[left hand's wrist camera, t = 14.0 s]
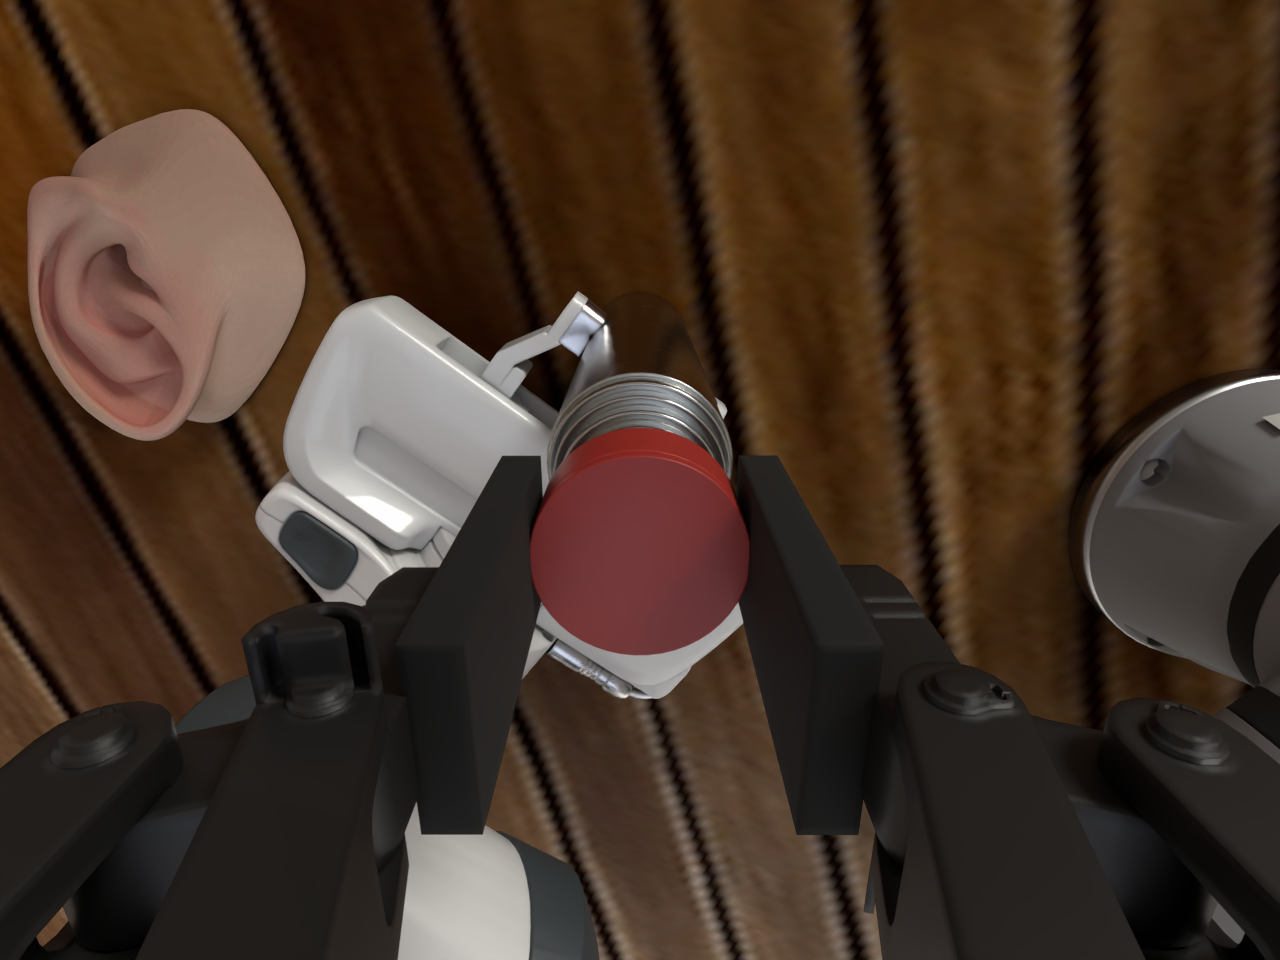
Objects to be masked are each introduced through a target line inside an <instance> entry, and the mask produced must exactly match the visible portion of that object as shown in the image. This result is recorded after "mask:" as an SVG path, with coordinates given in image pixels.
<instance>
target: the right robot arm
mask: <svg viewBox="0 0 1280 960" xmlns="http://www.w3.org/2000/svg"><path fill="white" fill-rule="evenodd" d="M607 315H608V314H607V313H605V312H604V311H603V310H602V309H600V308H599V307H598V306H597V305H595V304H594V303H593V302H592V301H590V300H589V299H588V298H587V297H585V296H584V295H583V294H581V293H580V292H579V291H578V292H577V293H576V294H575V296H574V297H573V298H572V300H571V301H570V302H569V304H568V305H567V306H566V308H565V309H564V311H563V312H562V313H561V315H560V316H559V318H558V319H557V320H556V322H555V323H554V325H553V326H551V325H548V326H546V327H543V328H541V329H539V330H536V331H534V332H532V333H529V334H527V335H525V336H522V337H520V338H518V339H515V340H513V341H510V342H508V343H506V344H505V345H504V346H503V347H502V348H501V349H500V350H499V351H498V352H497V353H496V355H495V356H494V358H493V359H492V360H491V362H489V361H487V360H486V359H485V358H483V357H482V356H480V355H479V354H478V353H476V352H475V351H474V350H472V349H471V348H469V347H468V346H467V345H465V344H464V343H462V342H461V341H460V340H458V339H457V338H456V337H454V336H453V335H451V334H450V333H449V332H447V331H446V330H444V329H443V328H442V327H440V326H439V325H438V324H436V323H435V322H433V321H432V320H431V319H429V318H428V317H426V316H425V315H424V314H422V313H421V312H419V311H418V310H417V309H415V308H414V307H413V306H411V305H410V304H409V303H407V302H406V301H404V300H403V299H401V298H399V297H397V296H384V297H377V298H372V299H367V300H363V301H360V302H357V303H355V304H353V305H351V306H349V307H348V308H346V309H345V310H343V311H342V312H341V313H340V314H339V315H338V317H337V318H336V319H335V320H334V322H333V324H332V325H331V327H330V328H329V330H328V332H327V333H326V335H325V337H324V339H323V341H322V342H321V344H320V346H319V348H318V350H317V352H316V354H315V356H314V358H313V360H312V362H311V364H310V366H309V368H308V370H307V372H306V374H305V376H304V379H303V381H302V383H301V385H300V388H299V390H298V392H297V395H296V397H295V400H294V402H293V405H292V408H291V410H290V413H289V416H288V419H287V422H286V425H285V430H284V436H283V451H284V457H285V461H286V464H287V466H288V468H289V470H290V471H288V472H287V473H286V474H285V475H284V476H283V477H282V478H281V479H280V480H279V481H278V482H277V483H276V484H275V486H274V487H273V488H272V489H271V490H270V492H269V493H268V494H267V495H266V496H265V498H264V499H263V500H262V502H261V503H260V505H259V507H258V509H257V511H256V515H255V519H256V523H257V526H258V528H259V529H260V531H261V532H262V534H263V535H264V536H265V537H266V538H267V539H268V541H269V542H270V543H271V544H272V545H273V546H274V547H275V548H276V549H277V550H278V551H279V552H280V553H281V554H282V555H283V556H284V557H285V558H286V559H287V560H288V561H289V562H290V563H291V565H292V566H293V567H294V568H295V569H296V570H297V571H298V572H299V573H300V574H301V575H302V576H303V577H304V579H305V580H306V581H307V582H308V583H309V584H310V585H311V586H312V588H313V589H314V590H315V591H316V592H317V593H318V595H319V596H320V597H321V598H322V599H323V601H324V602H347V603H351V604H355V605H359V606H363V605H366V600H367V599H368V598H369V596H370V595H371V593H372V592H373V591H374V589H375V588H376V586H377V585H378V583H380V582H381V581H383V580H384V579H386V578H387V577H389V576H390V575H392V574H393V573H395V572H396V571H398V570H400V569H401V568H403V567H439V566H440V565H441V563H442V561H443V559H444V558H445V556H446V554H447V552H448V550H449V549H450V547H451V545H452V543H453V542H454V540H455V538H456V536H457V535H458V533H459V531H460V529H461V528H462V526H463V524H464V522H465V520H466V519H467V517H468V515H469V513H470V512H471V510H472V508H473V506H474V505H475V503H476V501H477V499H478V497H479V496H480V494H481V492H482V490H483V489H484V487H485V485H486V483H487V482H488V480H489V478H490V476H491V474H492V473H493V471H494V469H495V467H496V466H497V464H498V462H499V460H500V459H501V457H502V456H541V470H542V489H543V496H544V493H545V491H546V488H547V485H548V483H549V478H548V471H547V448H548V443H549V438H550V435H551V432H552V429H553V427H554V424H555V422H556V419H557V417H558V414H559V412H558V411H556V410H555V409H554V408H552V407H551V406H550V405H548V404H547V403H545V402H544V401H543V400H541V399H540V398H538V397H537V396H536V395H534V394H533V393H532V392H530V391H529V390H527V389H526V388H525V387H523V386H522V385H520V384H521V382H522V381H523V380H524V378H525V377H526V375H527V374H528V372H529V371H530V369H531V368H532V366H533V365H532V362H531V361H529V360H528V359H529V358H531V357H534V356H536V355H538V354H540V353H543V352H545V351H547V350H549V349H552V348H554V347H556V346H559V345H561V344H562V345H563V346H565V347H566V348H568V349H569V350H570V351H572V352H573V353H575V354H576V355H577V356H579V355H580V354H581V353H582V351H583V350H584V349H585V347H586V346H587V344H588V342H589V340H590V337H591V335H592V334H595V333H596V332H597V331H598V330H599V328H600V327H601V326H602V324H603V323H604V321H605V320H606V318H607ZM714 398H715V401H716V403H717V406H718V408H719V411H720V413H721V415H722V418H723V419H724V417H725V415H726V413H727V409H726V407H725V405H724V403H722V402H721V401H720V400H718V399H717V398H716V397H715V396H714ZM742 624H743V619H742V615H741V611H740V607H739V603H737V605H736V606H735V608H734V609H733V611H732V612H731V613H730V615H729V616H728V617H727V618H726V619H725V620H724V621H723V622H722V623H721V624H720V625H719V626H718V627H717V628H716V629H714V630H713V631H712V632H711V633H709V634H708V635H706V636H705V637H703V638H702V639H700V640H698V641H696V642H694V643H692V644H690V645H688V646H686V647H683V648H680V649H678V650H675V651H671V652H666V653H662V654H655V655H625V654H618V653H613V652H609V651H605V650H602V649H599V648H596V647H594V646H592V645H589V644H587V643H585V642H583V641H581V640H580V639H578V638H576V637H575V636H573V635H572V634H570V633H569V632H568V631H567V630H565V629H564V628H563V627H562V626H560V625H559V624H558V622H557V621H556V620H555V619H554V618H553V617H552V616H551V615H550V614H549V612H548V611H547V609H546V608H545V607H544V605H543V604H542V602H541V605H540V609H539V613H538V617H537V621H536V625H535V629H534V633H533V637H532V641H531V645H530V649H529V653H528V657H527V661H526V665H525V669H524V673H523V677H522V679H523V678H524V677H525V676H526V674H527V673H528V672H529V671H530V670H531V668H532V667H533V666H534V665H535V664H536V663H537V662H538V660H539V659H540V658H541V657H542V656H543V654H545V653H546V654H547V655H549V656H550V657H552V658H553V659H555V660H557V661H558V662H560V663H561V664H563V665H564V666H566V667H568V668H569V669H571V670H573V671H575V672H577V673H579V674H581V675H583V676H585V677H588V678H589V679H591V680H593V681H594V682H596V683H597V684H599V686H600V687H601V688H602V689H603V690H604V691H606V692H607V693H609V694H611V695H612V696H615V697H617V698H620V699H626V698H627V697H628V696H631V697H634V698H639V699H651V698H654V699H659V698H662V697H664V696H665V695H667V694H668V693H669V692H671V690H672V689H673V688H674V687H675V686H676V685H677V684H678V683H679V682H680V681H681V680H682V679H683V678H684V677H685V676H686V675H687V673H688V672H689V670H690V669H691V667H692V665H693V664H695V663H696V662H697V661H699V660H700V659H701V658H703V657H704V656H705V655H707V654H708V653H709V652H711V651H712V650H713V649H714V648H715V647H717V646H718V645H719V644H720V643H721V642H723V641H724V640H725V639H726V638H727V637H728V636H730V635H731V634H732V633H733V632H734V631H735V630H736V629H737V628H739V627H740V626H741V625H742ZM633 686H635V687H636V688H638V689H635V688H633ZM639 689H640V690H639ZM255 706H256V701H255V697H254V693H253V688H252V684H251V679H250V675H247V676H244V677H241V678H239V679H236V680H233V681H230V682H228V683H225V684H223V685H222V686H220V687H218V688H217V689H216V690H214V691H213V692H211V693H210V694H209V695H207V696H206V697H205V698H203V699H202V700H201V701H200V702H199V703H198V704H196V705H195V706H194V707H193V708H192V709H191V710H190V711H189V712H188V713H187V714H186V715H185V716H184V717H183V718H182V719H181V720H180V721H179V722H178V723H177V725H176V726H175V729H176V732H177V734H181V733H185V732H190V731H195V730H200V729H205V728H210V727H215V726H220V725H225V724H230V723H234V722H237V721H241V720H245V719H248V718H250V716H251V714H252V712H253V710H254V708H255ZM405 838H406V845H407V852H408V860H409V871H408V879H407V887H406V895H405V904H404V912H403V920H402V928H401V937H400V945H399V953H398V960H599V952H598V945H597V939H596V934H595V929H594V925H593V921H592V917H591V914H590V910H589V907H588V903H587V900H586V897H585V894H584V891H583V888H582V886H581V883H580V880H579V878H578V876H577V874H576V872H575V871H574V869H573V868H572V867H571V866H570V865H569V864H567V863H565V862H563V861H561V860H559V859H557V858H555V857H553V856H551V855H548V854H546V853H544V852H542V851H540V850H538V849H536V848H534V847H532V846H530V845H528V844H526V843H524V842H522V841H520V840H518V839H516V838H514V837H512V836H510V835H508V834H506V833H503V832H501V831H494V830H492V829H491V828H489V827H487V826H486V825H485V828H484V832H483V835H421V829H420V822H419V815H418V808H417V802H416V804H415V807H414V809H413V812H412V815H411V817H410V820H409V823H408V825H407V828H406V831H405Z"/></svg>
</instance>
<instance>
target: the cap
mask: <svg viewBox="0 0 1280 960" xmlns="http://www.w3.org/2000/svg"><path fill="white" fill-rule="evenodd" d="M749 547H750V538H749V534H748V530H747V526H746V523H745V520H744V517H743V514H742V511H741V508H740V506H739V503H738V500H737V497H736V494H735V491H734V489H733V486H732V484H731V481H730V480H729V478H728V476H727V475H726V473H725V471H724V470H723V468H722V467H721V466H720V465H719V463H718V462H717V461H716V460H715V459H714V458H713V457H712V456H711V455H710V454H709V453H708V452H707V451H706V450H704V449H703V448H701V447H700V446H699V445H697V444H696V443H694V442H692V441H690V440H688V439H687V438H685V437H682V436H680V435H677V434H675V433H672V432H668V431H664V430H660V429H652V428H628V429H620V430H616V431H612V432H608V433H605V434H602V435H600V436H598V437H595V438H593V439H591V440H589V441H588V442H586V443H584V444H582V445H581V446H579V447H578V448H577V449H576V450H574V451H573V452H572V453H571V454H570V455H569V456H568V457H567V458H566V459H565V460H564V461H563V462H562V463H561V464H560V465H559V467H558V468H557V469H556V471H555V472H554V474H553V476H552V477H551V479H550V481H549V483H548V485H547V488H546V491H545V493H544V496H543V499H542V502H541V505H540V508H539V511H538V514H537V517H536V520H535V523H534V526H533V529H532V533H531V537H530V557H531V573H532V582H533V584H534V587H535V590H536V592H537V594H538V596H539V598H540V600H541V602H542V604H543V605H544V607H545V608H546V609H547V611H548V612H549V614H550V615H551V616H552V617H553V618H554V619H555V620H556V621H557V622H558V624H559V625H560V626H562V627H563V628H564V629H565V630H567V631H568V632H569V633H570V634H572V635H573V636H575V637H576V638H578V639H580V640H581V641H583V642H585V643H587V644H589V645H592V646H594V647H596V648H599V649H602V650H605V651H609V652H613V653H618V654H625V655H655V654H662V653H666V652H671V651H675V650H678V649H680V648H683V647H686V646H688V645H690V644H692V643H694V642H696V641H698V640H700V639H702V638H703V637H705V636H706V635H708V634H709V633H711V632H712V631H713V630H714V629H716V628H717V627H718V626H719V625H720V624H721V623H722V622H723V621H724V620H725V619H726V618H727V617H728V616H729V615H730V613H731V612H732V611H733V609H734V608H735V606H736V605H737V603H738V602H739V600H740V598H741V596H742V594H743V592H744V589H745V586H746V584H747V580H748V564H749Z"/></svg>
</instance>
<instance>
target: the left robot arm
mask: <svg viewBox="0 0 1280 960" xmlns="http://www.w3.org/2000/svg"><path fill="white" fill-rule="evenodd" d="M542 499H543V489H542V470H541V456H502V457H501V459H500V460H499V462H498V464H497V466H496V467H495V469H494V471H493V473H492V474H491V476H490V478H489V480H488V482H487V483H486V485H485V487H484V489H483V490H482V492H481V494H480V496H479V497H478V499H477V501H476V503H475V505H474V506H473V508H472V510H471V512H470V513H469V515H468V517H467V519H466V520H465V522H464V524H463V526H462V528H461V529H460V531H459V533H458V535H457V536H456V538H455V540H454V542H453V543H452V545H451V547H450V549H449V550H448V552H447V554H446V556H445V558H444V559H443V561H442V563H441V565H440V566H439V567H403V568H401V569H400V570H398V571H396V572H395V573H393V574H392V575H390V576H389V577H387V578H386V579H384V580H383V581H381V582H380V583H378V585H377V586H376V588H375V589H374V591H373V592H372V593H371V595H370V596H369V598H368V599H367V600H366V605H363V606H359V605H355V604H351V603H347V602H317V603H311V604H306V605H300V606H296V607H293V608H290V609H287V610H285V611H282V612H279V613H276V614H273V615H272V616H270V617H268V618H267V619H265V620H263V621H261V622H260V623H258V624H256V625H255V626H253V627H252V628H251V630H250V631H249V632H248V633H247V634H246V635H245V636H244V637H243V638H242V639H241V640H242V644H243V649H244V653H245V657H246V662H247V666H248V671H249V675H250V679H251V684H252V688H253V693H254V697H255V701H256V706H255V708H254V710H253V712H252V714H251V716H250V718H248V719H245V720H241V721H237V722H234V723H230V724H225V725H220V726H215V727H210V728H205V729H200V730H195V731H190V732H185V733H181V734H177V732H176V729H175V725H174V722H173V718H172V714H171V713H170V712H169V711H167V710H166V709H165V708H164V707H163V706H162V705H159V704H154V703H148V702H143V701H139V702H128V703H117V704H111V705H106V706H103V707H102V708H99V707H98V708H95V709H92V710H89V711H86V712H84V713H82V714H80V715H78V716H76V717H74V718H72V719H70V720H67V721H65V722H63V723H61V724H58V725H57V726H55V727H54V728H52V729H51V730H49V731H48V732H46V733H45V734H43V735H42V736H40V737H39V738H37V739H36V740H34V741H33V742H32V743H31V744H29V745H28V746H27V747H26V748H25V749H23V750H22V751H21V752H20V753H19V754H17V755H16V756H15V757H14V758H12V759H11V760H10V761H9V762H8V763H6V764H5V765H4V766H3V767H2V768H0V960H398V953H399V945H400V937H401V928H402V920H403V912H404V904H405V895H406V887H407V879H408V871H409V860H408V852H407V845H406V838H405V831H406V828H407V825H408V823H409V820H410V817H411V815H412V812H413V809H414V807H415V804H416V802H417V808H418V815H419V822H420V829H421V835H483V832H484V828H485V824H486V820H487V816H488V812H489V808H490V804H491V800H492V796H493V792H494V788H495V784H496V780H497V776H498V772H499V768H500V764H501V760H502V756H503V752H504V748H505V744H506V740H507V736H508V732H509V728H510V724H511V720H512V717H513V713H514V709H515V705H516V701H517V697H518V693H519V689H520V685H521V681H522V677H523V673H524V669H525V665H526V661H527V657H528V653H529V649H530V645H531V641H532V637H533V633H534V629H535V625H536V621H537V617H538V613H539V609H540V605H541V600H540V598H539V596H538V594H537V592H536V590H535V587H534V584H533V582H532V573H531V557H530V537H531V533H532V529H533V526H534V523H535V520H536V517H537V514H538V511H539V508H540V505H541V502H542ZM737 500H738V503H739V506H740V508H741V511H742V514H743V517H744V520H745V523H746V526H747V530H748V534H749V538H750V547H749V564H748V580H747V584H746V586H745V589H744V592H743V594H742V596H741V598H740V600H739V602H738V603H739V607H740V611H741V615H742V619H743V623H744V627H745V631H746V635H747V639H748V643H749V647H750V651H751V655H752V659H753V663H754V667H755V671H756V675H757V679H758V683H759V687H760V691H761V695H762V699H763V703H764V707H765V710H766V714H767V718H768V722H769V726H770V730H771V734H772V738H773V742H774V746H775V750H776V754H777V758H778V762H779V766H780V770H781V774H782V778H783V782H784V786H785V790H786V794H787V798H788V802H789V806H790V810H791V814H792V818H793V822H794V826H795V830H796V834H797V835H858V833H859V826H860V819H861V812H862V804H863V799H864V802H865V804H866V807H867V810H868V812H869V815H870V818H871V820H872V823H873V825H874V828H875V831H876V832H875V838H874V845H873V852H872V858H871V865H870V871H869V878H868V885H867V891H866V898H865V906H864V912H867V913H874V907H875V902H876V910H877V919H878V927H879V935H880V943H881V951H882V960H1280V370H1276V369H1248V370H1240V371H1232V372H1228V373H1223V374H1219V375H1215V376H1212V377H1208V378H1205V379H1202V380H1199V381H1197V382H1194V383H1192V384H1189V385H1187V386H1184V387H1182V388H1180V389H1178V390H1176V391H1174V392H1172V393H1170V394H1169V395H1167V396H1165V397H1164V398H1162V399H1160V400H1159V401H1157V402H1155V403H1154V404H1152V405H1151V406H1150V407H1148V408H1147V409H1145V410H1144V411H1142V412H1141V413H1140V414H1139V415H1137V416H1136V417H1135V418H1134V419H1133V420H1131V421H1130V422H1129V423H1128V424H1127V425H1126V426H1125V427H1124V428H1123V429H1122V430H1121V431H1120V432H1119V433H1118V434H1117V435H1116V436H1115V437H1114V438H1113V439H1112V440H1111V441H1110V442H1109V444H1108V445H1107V446H1106V447H1105V448H1104V450H1103V451H1102V452H1101V454H1100V455H1099V456H1098V458H1097V459H1096V461H1095V462H1094V464H1093V465H1092V467H1091V469H1090V470H1089V472H1088V474H1087V476H1086V478H1085V480H1084V482H1083V483H1082V485H1081V488H1080V490H1079V493H1078V495H1077V498H1076V501H1075V504H1074V508H1073V511H1072V516H1071V521H1070V528H1069V553H1070V560H1071V564H1072V568H1073V572H1074V575H1075V577H1076V579H1077V582H1078V584H1079V586H1080V588H1081V589H1082V591H1083V593H1084V594H1085V596H1086V597H1087V598H1088V600H1089V601H1090V602H1091V604H1092V605H1093V606H1094V607H1095V608H1096V609H1097V610H1098V611H1099V612H1101V613H1102V614H1103V615H1104V616H1105V617H1106V618H1107V619H1109V620H1110V621H1111V622H1112V623H1113V624H1114V625H1116V626H1117V627H1118V628H1119V629H1120V630H1122V631H1123V632H1124V633H1125V634H1127V635H1128V636H1129V637H1131V638H1133V639H1134V640H1136V641H1137V642H1139V643H1142V644H1144V645H1146V646H1148V647H1150V648H1153V649H1156V650H1159V651H1162V652H1164V653H1167V654H1170V655H1173V656H1177V657H1180V658H1186V659H1190V660H1192V661H1193V662H1195V663H1197V664H1199V665H1201V666H1203V667H1206V668H1208V669H1211V670H1213V671H1216V672H1218V673H1221V674H1223V675H1226V676H1229V677H1232V678H1234V679H1237V680H1240V681H1242V682H1245V683H1248V684H1250V685H1251V686H1253V687H1254V688H1253V689H1252V690H1250V691H1249V692H1248V693H1246V694H1245V695H1243V696H1242V697H1241V698H1239V699H1238V700H1236V701H1235V702H1234V703H1232V704H1231V705H1229V706H1228V707H1226V708H1224V709H1222V710H1221V711H1219V712H1218V713H1217V714H1215V715H1214V716H1210V715H1208V714H1205V713H1203V712H1201V711H1199V710H1198V709H1196V708H1193V707H1190V706H1187V705H1184V704H1181V705H1180V704H1178V703H1176V702H1171V701H1166V700H1156V699H1145V698H1135V699H1130V700H1125V701H1119V702H1118V703H1117V704H1116V705H1115V706H1114V707H1112V708H1111V709H1110V710H1109V712H1108V716H1107V719H1106V723H1105V726H1104V730H1103V731H1101V730H1096V729H1091V728H1086V727H1081V726H1076V725H1071V724H1066V723H1061V722H1056V721H1051V720H1047V719H1043V718H1040V717H1036V716H1032V715H1029V713H1028V711H1027V709H1026V706H1025V704H1024V703H1023V701H1022V700H1021V699H1020V698H1019V696H1018V695H1017V694H1016V692H1015V691H1014V690H1013V689H1012V688H1011V687H1009V686H1008V685H1007V684H1005V683H1004V682H1002V681H1001V680H999V679H998V678H996V677H995V676H993V675H991V674H988V673H986V672H984V671H981V670H979V669H976V668H974V667H972V666H967V665H962V664H960V663H959V662H958V660H957V659H956V657H955V656H954V654H953V653H952V652H951V650H950V649H949V647H948V646H947V645H946V643H945V642H944V640H943V639H942V638H941V636H940V635H939V633H938V632H937V631H936V629H935V628H934V626H933V625H932V624H931V622H930V621H929V619H928V618H925V614H924V612H923V611H922V609H921V608H920V607H919V605H918V604H917V603H914V598H913V597H912V595H911V594H910V593H909V591H908V590H907V588H906V587H905V585H904V584H903V583H902V581H901V580H899V579H898V578H896V577H895V576H893V575H892V574H890V573H888V572H887V571H885V570H884V569H882V568H881V567H879V566H878V565H839V564H838V562H837V560H836V558H835V557H834V555H833V553H832V551H831V550H830V548H829V546H828V544H827V543H826V541H825V539H824V537H823V535H822V534H821V532H820V530H819V528H818V527H817V525H816V523H815V521H814V520H813V518H812V516H811V514H810V513H809V511H808V509H807V507H806V505H805V504H804V502H803V500H802V498H801V497H800V495H799V493H798V491H797V490H796V488H795V486H794V484H793V482H792V481H791V479H790V477H789V475H788V474H787V472H786V470H785V468H784V467H783V465H782V463H781V461H780V459H779V458H778V456H739V460H738V480H737ZM62 907H63V908H64V910H65V913H66V915H67V918H68V920H69V921H68V922H67V923H66V925H65V926H64V927H63V928H62V929H61V930H60V932H59V933H58V934H57V935H56V936H55V937H54V938H52V939H51V940H50V941H49V942H48V943H47V944H45V945H44V946H43V947H42V946H41V945H40V944H39V943H38V940H37V938H36V936H37V935H38V934H39V933H40V932H41V930H42V929H43V928H44V927H45V926H46V925H47V924H48V922H49V921H50V920H51V919H52V918H53V917H54V916H55V915H56V913H57V912H58V911H59V910H60V909H61V908H62Z"/></svg>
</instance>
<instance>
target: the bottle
mask: <svg viewBox="0 0 1280 960" xmlns="http://www.w3.org/2000/svg"><path fill="white" fill-rule="evenodd" d="M603 311H604V312H605V313H607V314H608V315H607V318H606V320H605V321H604V323H603V324H602V326H601V327H600V328H599V330H598V331H597V332H596V333H595V334H592V335H591V337H590V340H589V342H588V344H587V346H586V347H585V350H584V352H583V355H582V357H581V360H580V362H579V365H578V367H577V370H576V372H575V375H574V377H573V379H572V382H571V384H570V387H569V389H568V392H567V394H566V397H565V399H564V402H563V404H562V407H561V409H560V412H559V414H558V417H557V419H556V422H555V424H554V427H553V429H552V432H551V435H550V438H549V443H548V448H547V471H548V478H549V481H550V479H551V477H552V476H553V474H554V472H555V471H556V469H557V468H558V467H559V465H560V464H561V463H562V462H563V461H564V460H565V459H566V458H567V457H568V456H569V455H570V454H571V453H572V452H573V451H574V450H576V449H577V448H578V447H579V446H581V445H582V444H584V443H586V442H588V441H589V440H591V439H593V438H595V437H598V436H600V435H602V434H605V433H608V432H612V431H616V430H620V429H628V428H652V429H660V430H664V431H668V432H672V433H675V434H677V435H680V436H682V437H685V438H687V439H688V440H690V441H692V442H694V443H696V444H697V445H699V446H700V447H701V448H703V449H704V450H706V451H707V452H708V453H709V454H710V455H711V456H712V457H713V458H714V459H715V460H716V461H717V462H718V463H719V465H720V466H721V467H722V468H723V470H724V471H725V473H726V475H727V476H728V478H729V480H730V481H731V475H732V468H733V452H732V445H731V440H730V437H729V433H728V430H727V428H726V425H725V423H724V420H723V418H722V415H721V413H720V411H719V408H718V406H717V403H716V401H715V398H714V396H713V393H712V391H711V388H710V386H709V383H708V381H707V378H706V376H705V373H704V371H703V369H702V366H701V364H700V361H699V359H698V356H697V354H696V351H695V349H694V346H693V344H692V341H691V339H690V336H689V334H688V332H687V329H686V327H685V324H684V322H683V319H682V317H681V316H680V314H679V312H678V311H677V310H676V309H675V307H674V306H672V305H671V304H670V303H669V302H668V301H666V300H665V299H663V298H661V297H660V296H657V295H654V294H651V293H645V292H634V293H628V294H625V295H622V296H620V297H618V298H616V299H614V300H613V301H611V302H610V303H609V304H608V305H607V306H606V307H605V308H604V309H603Z"/></svg>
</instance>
